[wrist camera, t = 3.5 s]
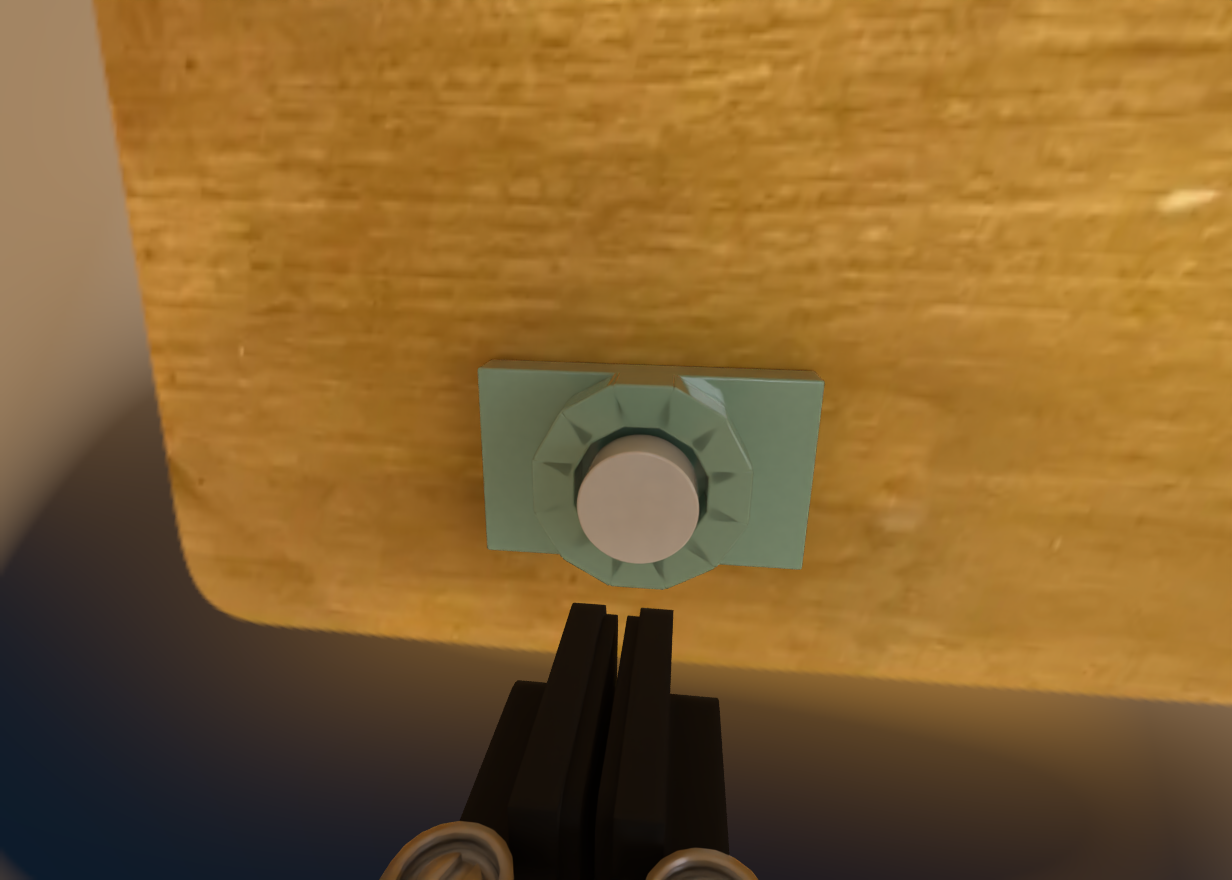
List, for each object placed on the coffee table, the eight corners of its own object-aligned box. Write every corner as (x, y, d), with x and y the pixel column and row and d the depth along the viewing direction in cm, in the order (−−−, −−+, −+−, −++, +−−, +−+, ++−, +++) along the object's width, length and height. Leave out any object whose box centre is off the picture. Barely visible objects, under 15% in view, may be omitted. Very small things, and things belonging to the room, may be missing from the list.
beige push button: (584, 534, 18) (576, 560, 17) (584, 430, 17) (575, 449, 16) (694, 541, 18) (695, 568, 17) (701, 435, 17) (702, 454, 16)
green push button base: (498, 532, 22) (470, 577, 19) (490, 357, 20) (458, 377, 17) (794, 550, 21) (811, 600, 18) (815, 368, 19) (839, 392, 16)
